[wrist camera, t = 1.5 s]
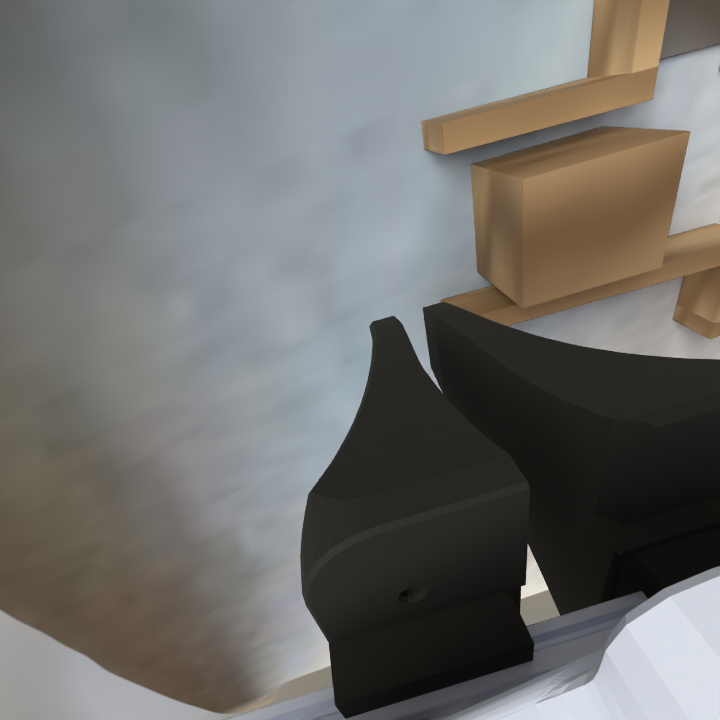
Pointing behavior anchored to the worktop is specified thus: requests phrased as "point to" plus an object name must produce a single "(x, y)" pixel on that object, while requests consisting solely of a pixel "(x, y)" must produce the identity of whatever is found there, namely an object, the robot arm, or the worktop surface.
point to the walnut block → (576, 211)
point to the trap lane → (590, 97)
